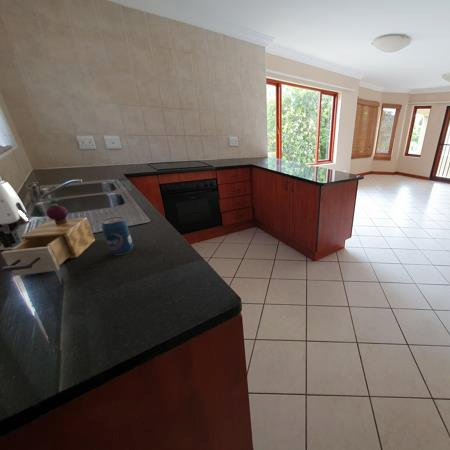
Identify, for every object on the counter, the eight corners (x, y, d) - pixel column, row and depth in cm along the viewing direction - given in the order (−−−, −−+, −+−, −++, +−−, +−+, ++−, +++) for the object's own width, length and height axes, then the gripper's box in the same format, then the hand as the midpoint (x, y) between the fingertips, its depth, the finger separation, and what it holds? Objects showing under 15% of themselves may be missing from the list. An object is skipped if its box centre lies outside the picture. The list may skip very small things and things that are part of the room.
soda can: (106, 256, 81) (95, 224, 76) (116, 247, 87) (106, 217, 83) (129, 255, 82) (119, 223, 78) (137, 245, 89) (128, 215, 84)
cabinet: (77, 257, 80) (66, 232, 77) (33, 262, 77) (20, 236, 73) (95, 240, 92) (86, 217, 89) (58, 244, 89) (48, 220, 85)
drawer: (47, 280, 67) (35, 256, 64) (-1, 287, 65) (-16, 262, 61) (79, 250, 83) (70, 230, 80) (41, 255, 80) (31, 234, 77)
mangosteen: (47, 226, 81) (39, 207, 78) (57, 221, 85) (49, 202, 82) (66, 224, 82) (58, 206, 79) (74, 219, 87) (67, 201, 84)
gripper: (-83, 183, 52) (-37, 255, 59) (6, 180, 56) (38, 248, 63) (-49, 176, 58) (-12, 242, 66) (28, 174, 63) (55, 236, 70)
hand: (13, 245), depth 64 cm, fingers closed
